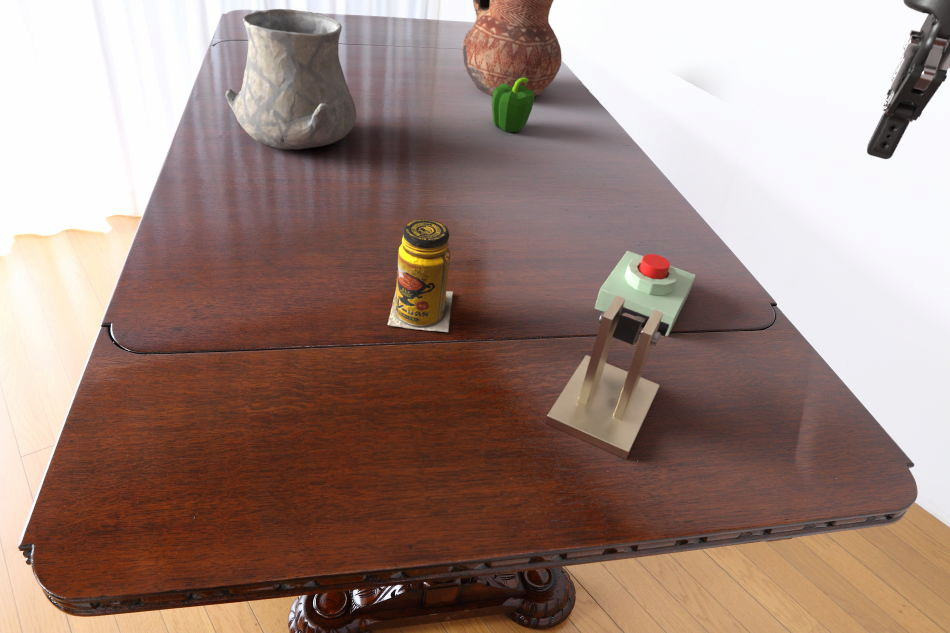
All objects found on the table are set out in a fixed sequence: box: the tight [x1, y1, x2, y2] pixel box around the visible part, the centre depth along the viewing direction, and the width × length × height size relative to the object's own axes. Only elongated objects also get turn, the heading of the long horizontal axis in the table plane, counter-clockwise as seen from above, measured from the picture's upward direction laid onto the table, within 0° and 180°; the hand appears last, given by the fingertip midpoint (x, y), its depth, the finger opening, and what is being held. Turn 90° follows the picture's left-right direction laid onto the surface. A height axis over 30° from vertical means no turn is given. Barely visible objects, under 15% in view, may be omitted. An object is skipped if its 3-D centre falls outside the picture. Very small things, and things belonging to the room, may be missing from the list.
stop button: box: [639, 253, 671, 280], centre depth 89 cm, size 4×4×2 cm
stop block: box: [594, 250, 696, 337], centre depth 91 cm, size 12×10×5 cm
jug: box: [461, 0, 562, 97], centre depth 148 cm, size 22×21×25 cm
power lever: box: [612, 307, 669, 346], centre depth 72 cm, size 12×6×2 cm, turn 153°
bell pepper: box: [491, 77, 535, 133], centre depth 134 cm, size 8×8×10 cm
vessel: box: [224, 8, 357, 150], centre depth 115 cm, size 22×22×20 cm
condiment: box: [387, 218, 454, 333], centre depth 81 cm, size 7×8×12 cm
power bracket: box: [544, 295, 663, 460], centre depth 71 cm, size 12×9×13 cm
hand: (877, 154), depth 65 cm, fingers closed
